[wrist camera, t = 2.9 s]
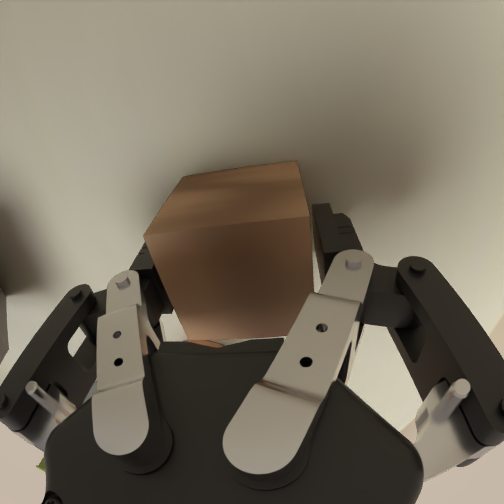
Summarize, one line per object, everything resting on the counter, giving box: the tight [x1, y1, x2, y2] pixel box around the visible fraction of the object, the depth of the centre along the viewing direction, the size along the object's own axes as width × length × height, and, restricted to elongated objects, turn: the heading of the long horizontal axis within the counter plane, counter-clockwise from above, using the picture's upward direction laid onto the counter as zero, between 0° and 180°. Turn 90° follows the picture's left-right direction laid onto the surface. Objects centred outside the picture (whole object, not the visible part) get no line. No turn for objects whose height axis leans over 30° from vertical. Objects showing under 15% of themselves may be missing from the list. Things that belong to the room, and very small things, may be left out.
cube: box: [143, 161, 314, 340], centre depth 12 cm, size 5×5×5 cm
